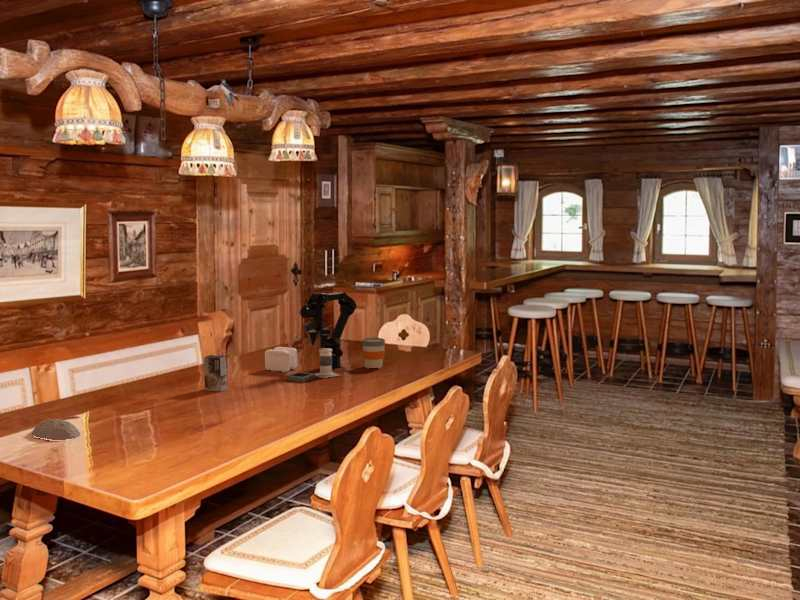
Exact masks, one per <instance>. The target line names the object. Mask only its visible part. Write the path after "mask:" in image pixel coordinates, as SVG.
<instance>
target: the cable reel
mask: <svg viewBox="0 0 800 600" xmlns="http://www.w3.org/2000/svg"><path fill="white" fill-rule="evenodd" d="M318 352H319V355H318V356H319V373H320V375H322V376H329V375H333V373H334V372H333V368H332V349H330V348H323V347H322V348H319V349H318Z"/></svg>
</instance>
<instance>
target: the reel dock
mask: <svg viewBox="0 0 800 600" xmlns="http://www.w3.org/2000/svg"><path fill="white" fill-rule="evenodd" d="M315 374H316V373H312V372H311V373H310V372H301V371H300V372H299V371H297V372H293V373H292V374H287V375H286V378H285V379H286V380H289V381H288V382H293V381H298V382H297V383H304V382H305V383H307V382H309V380H310V381H312V380H311V379H313V380H315V379H316V377H315ZM314 378H315V379H314ZM306 381H307V382H306Z"/></svg>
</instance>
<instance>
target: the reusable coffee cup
mask: <svg viewBox="0 0 800 600" xmlns="http://www.w3.org/2000/svg"><path fill="white" fill-rule="evenodd" d="M361 346H362V355H363V359H364V365H365V366H364V367H365V368H366V369H369V368H378V369H382V368H383V364H384V363H383V361H384V359H385V352H386V350H385V346H386V339H385V338H381V337H367V338H363V339H362V342H361ZM381 367H382V368H381Z"/></svg>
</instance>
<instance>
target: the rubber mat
mask: <svg viewBox="0 0 800 600" xmlns="http://www.w3.org/2000/svg"><path fill="white" fill-rule="evenodd" d="M314 374H315V376H316V377H315V378H318V377H319V378H318V379H320V378H324V379H329V378H328V377H332V378H336V377H335V376H339V377H341V374H338V373H336V372H333V375H329V376H322V375H320V372H316V373H314Z"/></svg>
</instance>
